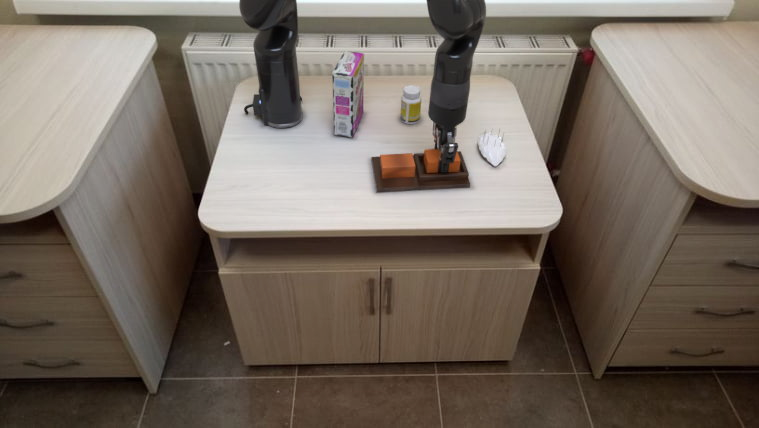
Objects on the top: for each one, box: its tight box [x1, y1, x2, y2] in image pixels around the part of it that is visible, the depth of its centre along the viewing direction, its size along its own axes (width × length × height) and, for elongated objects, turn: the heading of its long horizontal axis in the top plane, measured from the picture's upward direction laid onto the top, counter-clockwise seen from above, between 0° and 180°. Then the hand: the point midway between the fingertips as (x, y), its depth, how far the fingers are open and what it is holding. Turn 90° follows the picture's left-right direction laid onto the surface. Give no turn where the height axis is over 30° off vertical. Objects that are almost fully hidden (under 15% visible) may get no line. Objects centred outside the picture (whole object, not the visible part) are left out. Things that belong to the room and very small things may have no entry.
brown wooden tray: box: [371, 150, 471, 194], centre depth 117 cm, size 20×11×4 cm, turn 96°
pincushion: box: [477, 128, 507, 167], centre depth 123 cm, size 12×6×6 cm, turn 1°
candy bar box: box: [331, 50, 365, 139], centre depth 126 cm, size 11×5×16 cm, turn 168°
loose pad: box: [423, 148, 461, 173], centre depth 117 cm, size 7×4×3 cm, turn 96°
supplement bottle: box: [400, 84, 422, 125], centre depth 131 cm, size 5×5×8 cm
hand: (440, 164), depth 117 cm, fingers closed on loose pad, 4 cm apart
